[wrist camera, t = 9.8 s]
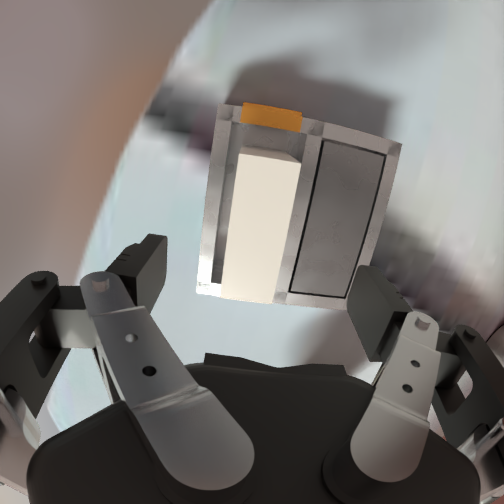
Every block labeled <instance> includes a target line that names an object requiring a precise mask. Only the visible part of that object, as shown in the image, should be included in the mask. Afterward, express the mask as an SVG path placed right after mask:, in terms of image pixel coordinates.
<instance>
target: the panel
mask: <svg viewBox="0 0 504 504" xmlns="http://www.w3.org/2000/svg"><path fill="white" fill-rule="evenodd" d="M300 168H301V163H300V162H299V161H297V160H296V159H295V158H293V157H292V156H291V155H289V154H288V153H287V152H286V151H283V150H277V149H272V148H265V147H259V146H252V145H246V144H242V146H241V149H240V152H239V158H238V164H237V171H236V178H235V185H234V192H233V199H232V206H231V213H230V220H229V228H228V235H227V243H226V251H225V258H224V266H223V274H222V282H221V291H220V298H226V299H233V300H241V301H249V302H257V303H266V304H272V301H273V297H274V293H275V288H276V284H277V279H278V275H279V270H280V266H281V261H282V256H283V252H284V247H285V242H286V238H287V233H288V228H289V223H290V218H291V213H292V209H293V204H294V199H295V194H296V189H297V183H298V178H299V173H300Z"/></svg>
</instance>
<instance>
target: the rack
mask: <svg viewBox="0 0 504 504" xmlns="http://www.w3.org/2000/svg"><path fill="white" fill-rule="evenodd" d="M301 116H302V112H298V111H293V110H288V109H283V108H277V107H271V106H266V105H259V104H253V103H246V102H243V106H235V105H227V104H219V105H218V111H217V118H216V124H215V131H214V138H213V145H212V152H211V159H210V167H209V174H208V182H207V191H206V199H205V208H204V217H203V226H202V236H201V246H200V257H199V268H198V280H197V292H196V293H202V294H209V295H216V296H220V291H221V282H222V274H223V266H224V258H225V251H226V243H227V235H228V228H229V220H230V213H231V206H232V199H233V192H234V185H235V178H236V171H237V164H238V158H239V152H240V149H241V146H242V144H246V145H252V146H259V147H265V148H272V149H277V150H283V151H286V152H287V153H288V154H289V155H291V156H292V157H293V158H295V159H296V160H297V161H299V162H300V163H301V168H300V173H299V178H298V183H297V189H296V194H295V199H294V204H293V209H292V213H291V218H290V223H289V228H288V233H287V238H286V242H285V247H284V252H283V256H282V261H281V266H280V270H279V275H278V279H277V284H276V288H275V293H274V297H273V301H272V303H278V304H287V305H296V306H306V307H316V308H326V309H337V310H347V297H348V294H349V291H350V288H351V285H352V282H353V279H354V276H355V273H356V271H357V268H358V267H359V266H360V265H367V266H369V264H370V261H371V258H372V255H373V252H374V249H375V245H376V242H377V239H378V236H379V232H380V229H381V226H382V222H383V219H384V215H385V212H386V208H387V205H388V201H389V197H390V193H391V190H392V186H393V182H394V177H395V173H396V169H397V165H398V160H399V156H400V151H401V147H402V144H400V143H397V142H394V141H391V140H388V139H385V138H382V137H379V136H375V135H372V134H369V133H365V132H362V131H358V130H355V129H351V128H347V127H343V126H339V125H335V124H331V123H327V122H323V121H319V120H314V119H310V118H305V117H301Z"/></svg>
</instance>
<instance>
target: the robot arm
mask: <svg viewBox="0 0 504 504" xmlns="http://www.w3.org/2000/svg"><path fill="white" fill-rule="evenodd" d="M166 269H167V236H163V235H156V234H148V235H147V236H146V237H145V238H144V240H143V241H142V242H141V243H140V244H137V243H135V244H132V245H130V246H128V247H126V248H125V249H124V250H123V251H122V252H121V254H120V255H119V256H118V257H117V258H116V260H114V261H113V262H112V264H111V265H110V266H109V267H108V268H107V269H106V270H105V271H100V272H93V273H90V274H88V275H86V276H84V277H83V278H82V279H81V281H80V286H59V282H58V277H57V275H56V274H54V273H53V272H49V271H38V272H34V273H31V274H29V275H27V276H26V277H25V278H24V279H22V280H21V282H20V283H18V285H16V286H15V287H14V288H13V290H11V292H10V293H9V294H8V295H7V296H6V297H5V298H4V299H3V300H2V301H1V302H0V486H1V485H4V484H6V485H7V486H9V487H11V488H13V489H15V490H17V491H19V492H20V493H23V494H24V495H27V496H28V497H29V502H30V504H490V503H492V502H494V501H495V500H497V499H498V498H499V497H500V496H502V495H504V325H503V326H502V327H500V328H499V329H498V330H497V331H496V332H495V333H494V334H493V335H492V336H491V338H490V339H489V340H488V341H487V343H486V342H485V341H484V339H483V338H482V337H481V335H480V334H479V333H478V332H477V331H476V330H474V329H473V328H471V327H469V326H466V325H457V326H456V327H455V329H454V331H453V333H452V335H450V334H446V333H442V332H439V326H438V324H437V323H436V322H435V321H434V320H433V319H432V318H431V317H429V316H428V315H426V314H423V313H420V312H413V310H412V309H411V308H410V306H409V305H408V303H407V302H406V301H405V299H403V297H402V295H401V294H400V293H399V291H398V290H397V289H396V287H395V286H394V285H393V284H391V283H390V282H389V281H387V279H386V278H385V277H384V276H383V274H382V273H381V272H380V270H379V269H378V268H377V267H374V266H367V265H360V266H359V267H358V268H357V271H356V273H355V276H354V279H353V282H352V285H351V288H350V291H349V294H348V297H347V311H348V313H349V315H350V317H351V320H352V322H353V324H354V326H355V329H356V331H357V333H358V336H359V338H360V340H361V342H362V345H363V347H364V349H365V352H366V354H367V357H368V359H369V361H370V362H382V365H381V367H380V368H379V370H378V372H377V374H376V376H375V378H374V380H373V382H372V384H369V383H367V382H365V381H363V380H360V379H358V378H355V377H352V376H349V375H346V372H345V369H344V366H343V365H327V364H307V365H299V366H291V367H283V368H277V367H272V366H269V365H265V364H262V363H258V362H255V361H251V360H248V359H244V358H241V357H233V356H225V355H218V354H211V353H205V358H204V363H194V364H188V365H183V363H182V362H181V360H180V359H179V358H178V356H177V355H176V353H175V352H174V350H173V349H172V347H171V346H170V344H169V343H168V341H167V340H166V338H165V337H164V335H163V334H162V332H161V331H160V329H159V328H158V326H157V325H156V323H155V322H154V320H153V318H152V317H151V315H150V313H151V311H152V309H153V307H154V304H155V302H156V300H157V298H158V296H159V294H160V292H161V290H162V288H163V286H164V283H165V279H166ZM33 331H34V332H35V336H34V337H33V339H32V340H31V342H30V343H29V339H30V336H31V334H32V332H33ZM71 348H92V352H93V355H94V358H95V361H96V363H97V366H98V369H99V372H100V374H101V377H102V379H103V382H104V385H105V387H106V390H107V393H108V395H109V398H110V401H111V405H109V406H108V407H106V408H104V409H102V410H101V411H99V412H97V413H95V414H93V415H92V416H90V417H88V418H86V419H84V420H83V421H81V422H79V423H77V424H75V425H73V426H72V427H70V428H68V429H66V430H64V431H62V432H60V433H59V434H57V435H55V436H53V437H51V438H49V439H48V440H46V441H45V442H44V443H42V444H41V445H40V446H39V442H40V437H41V431H40V427H39V425H38V423H37V421H36V418H37V415H38V413H39V411H40V409H41V407H42V404H43V403H44V400H45V398H46V396H47V394H48V392H49V390H50V388H51V386H52V384H53V382H54V380H55V378H56V376H57V374H58V372H59V371H60V369H61V367H62V365H63V363H64V361H65V359H66V357H67V356H68V354H69V352H70V350H71ZM466 370H467V372H468V373H469V375H470V377H471V379H472V381H473V388H472V391H471V393H470V394H469V395H468V397H467V398H466V399H465V397H464V395H463V393H462V392H461V390H460V388H459V386H458V384H457V382H458V381H459V379H460V378H461V377H462V375H463V374H464V372H465V371H466ZM431 403H432V405H433V408H434V410H435V413H436V415H437V417H438V420H439V422H440V425H441V427H442V430H443V432H444V435H445V437H446V440H447V441H445V440H444V439H443V438H441V437H440V436H439V435H437V434H436V433H435V432H433V431H432V430H431V429H429V428H430V423H429V422H428V421H427V417H428V413H429V410H430V406H431Z"/></svg>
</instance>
